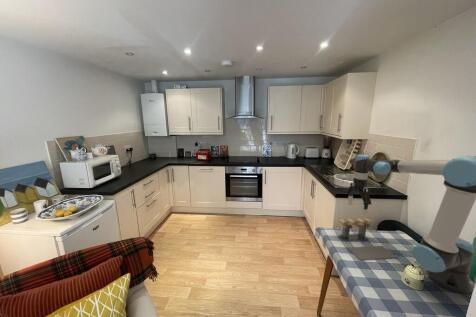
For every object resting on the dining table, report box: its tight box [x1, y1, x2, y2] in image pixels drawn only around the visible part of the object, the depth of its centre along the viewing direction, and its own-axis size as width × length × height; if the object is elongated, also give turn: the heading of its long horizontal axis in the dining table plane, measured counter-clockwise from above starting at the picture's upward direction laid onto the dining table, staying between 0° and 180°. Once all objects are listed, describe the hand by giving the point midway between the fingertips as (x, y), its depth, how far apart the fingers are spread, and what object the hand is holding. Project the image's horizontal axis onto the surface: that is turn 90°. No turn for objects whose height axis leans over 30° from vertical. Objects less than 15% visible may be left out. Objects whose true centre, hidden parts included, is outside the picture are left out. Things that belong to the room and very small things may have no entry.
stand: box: [338, 225, 369, 242], centre depth 133 cm, size 17×6×11 cm, turn 96°
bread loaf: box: [338, 217, 372, 229], centre depth 132 cm, size 20×4×4 cm, turn 96°
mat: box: [346, 245, 399, 261], centre depth 118 cm, size 24×11×1 cm, turn 96°
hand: (356, 209), depth 131 cm, fingers open, 13 cm apart
